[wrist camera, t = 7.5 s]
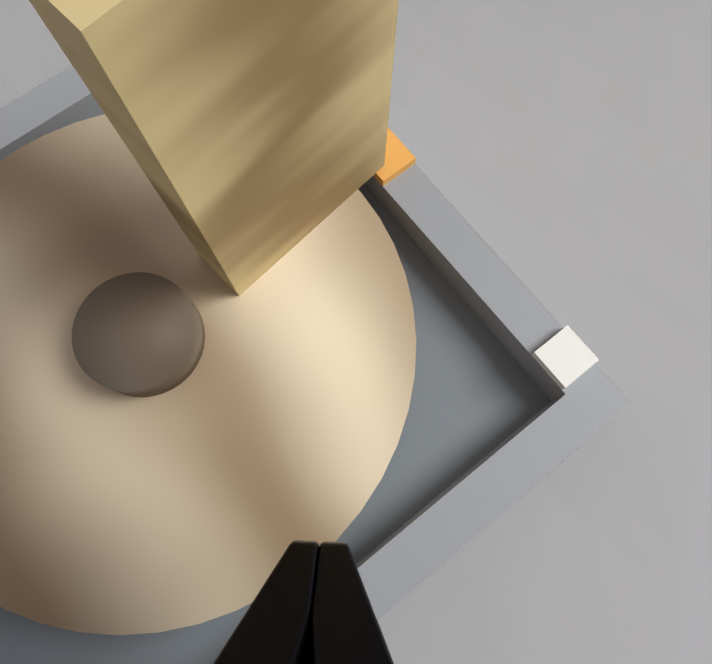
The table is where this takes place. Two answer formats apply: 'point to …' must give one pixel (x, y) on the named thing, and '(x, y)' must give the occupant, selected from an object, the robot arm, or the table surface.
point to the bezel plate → (426, 410)
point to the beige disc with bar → (196, 309)
